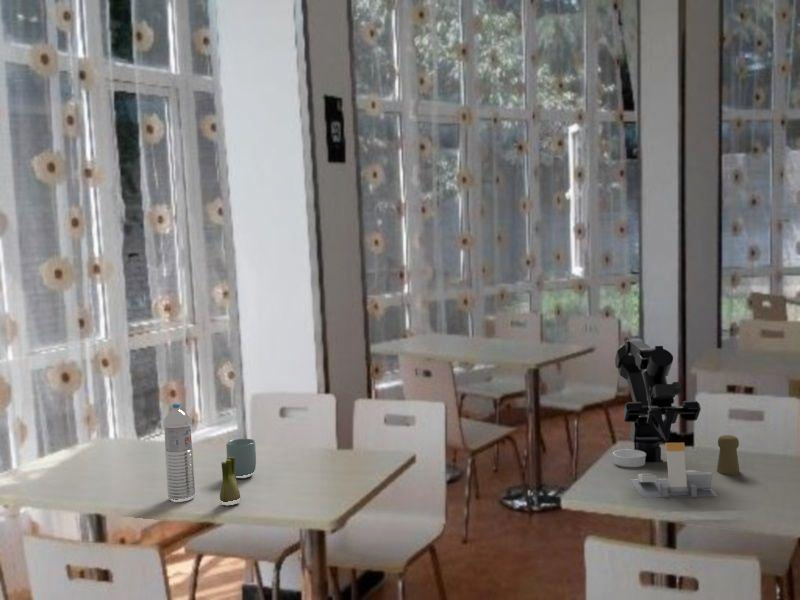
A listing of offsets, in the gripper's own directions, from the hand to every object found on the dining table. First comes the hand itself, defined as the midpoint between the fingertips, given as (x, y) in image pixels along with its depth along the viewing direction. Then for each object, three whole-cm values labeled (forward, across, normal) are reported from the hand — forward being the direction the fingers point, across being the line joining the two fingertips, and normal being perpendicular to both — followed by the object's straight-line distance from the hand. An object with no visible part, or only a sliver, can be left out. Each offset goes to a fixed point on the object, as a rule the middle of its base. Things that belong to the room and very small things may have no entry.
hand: (667, 439), depth 224 cm
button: (+9, +6, +6) cm, 12 cm away
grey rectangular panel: (+12, +6, +2) cm, 14 cm away
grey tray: (+12, 0, +5) cm, 13 cm away
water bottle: (+12, -124, +6) cm, 125 cm away
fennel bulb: (+16, -111, +2) cm, 112 cm away
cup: (-1, -113, +19) cm, 115 cm away
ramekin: (-3, -6, +21) cm, 22 cm away
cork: (+3, +18, +14) cm, 23 cm away
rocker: (+8, -6, +5) cm, 11 cm away
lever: (+14, 0, -1) cm, 15 cm away
